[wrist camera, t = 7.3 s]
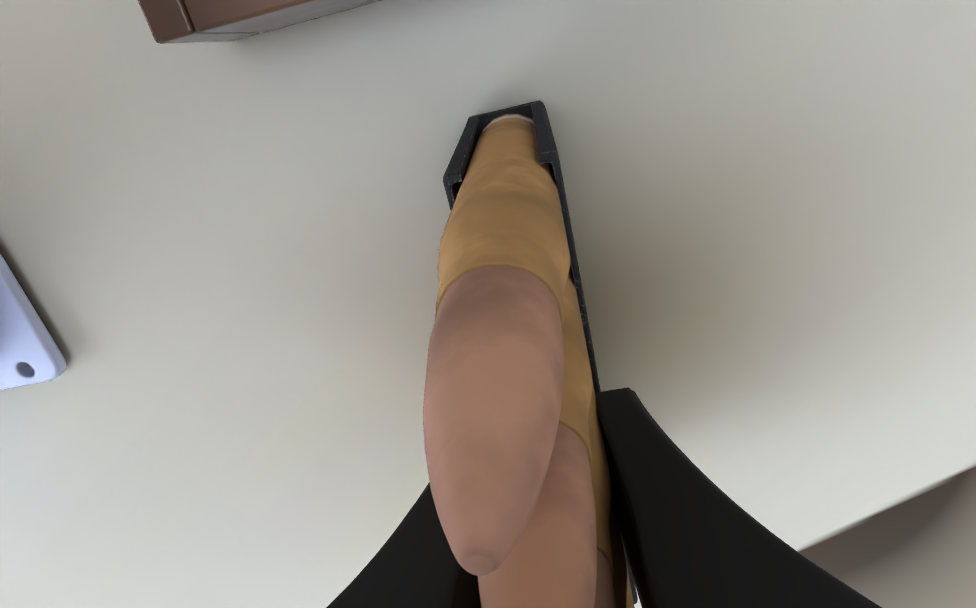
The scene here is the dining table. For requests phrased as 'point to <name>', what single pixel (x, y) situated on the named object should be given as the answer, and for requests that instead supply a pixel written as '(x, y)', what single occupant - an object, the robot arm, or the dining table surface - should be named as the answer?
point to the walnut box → (231, 17)
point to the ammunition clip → (518, 382)
